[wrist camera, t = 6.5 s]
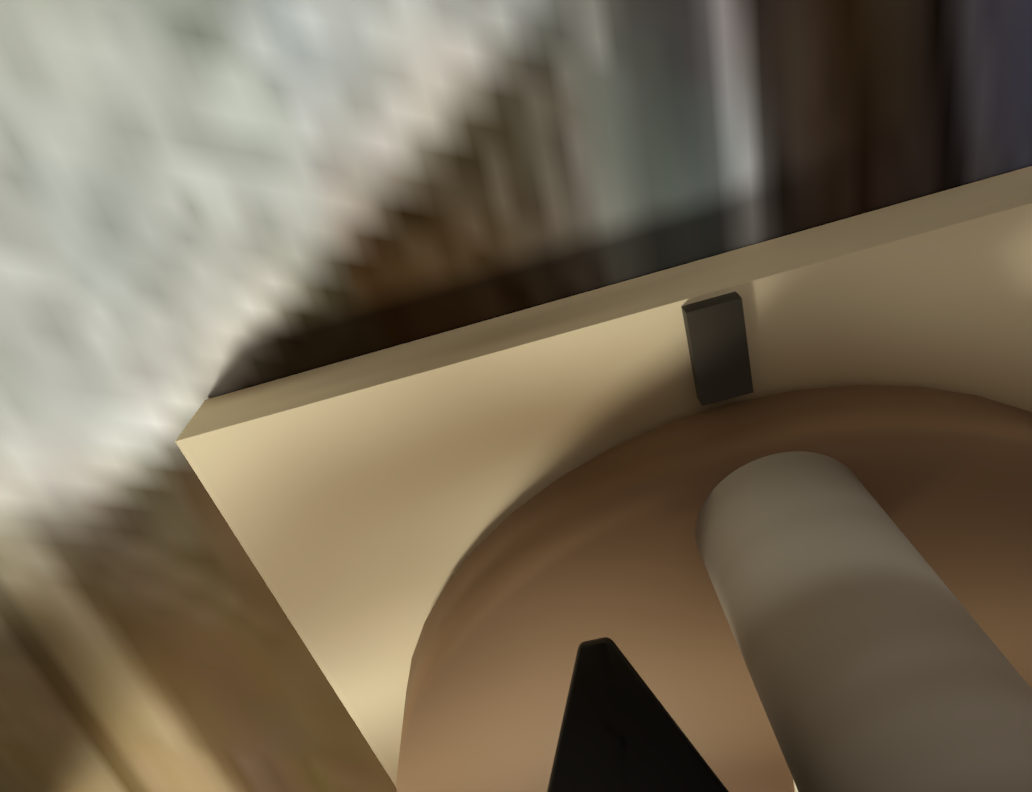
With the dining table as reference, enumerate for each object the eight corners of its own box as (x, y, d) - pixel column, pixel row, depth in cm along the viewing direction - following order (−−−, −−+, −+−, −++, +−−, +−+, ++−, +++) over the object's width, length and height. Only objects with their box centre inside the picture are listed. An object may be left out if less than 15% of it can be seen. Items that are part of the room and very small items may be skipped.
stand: (1079, 794, 21) (1127, 855, 20) (506, 908, 23) (507, 972, 22) (1235, 108, 11) (1356, 121, 10) (205, 399, 13) (168, 450, 12)
